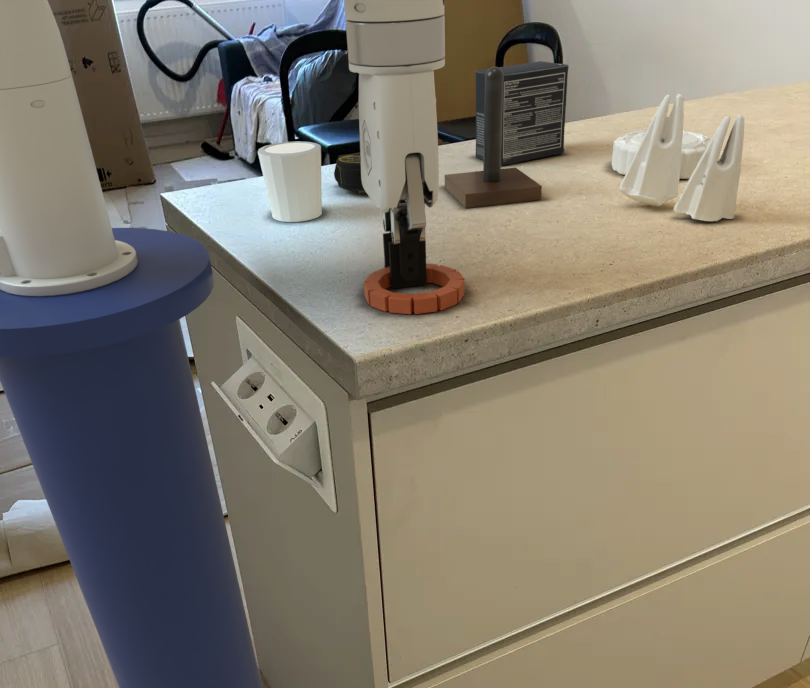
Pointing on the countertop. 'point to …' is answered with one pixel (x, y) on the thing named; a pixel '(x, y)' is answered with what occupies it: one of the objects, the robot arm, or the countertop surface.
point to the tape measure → (349, 172)
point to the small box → (527, 111)
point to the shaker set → (661, 160)
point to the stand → (492, 161)
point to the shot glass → (292, 180)
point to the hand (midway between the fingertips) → (405, 279)
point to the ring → (415, 302)
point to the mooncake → (630, 142)
